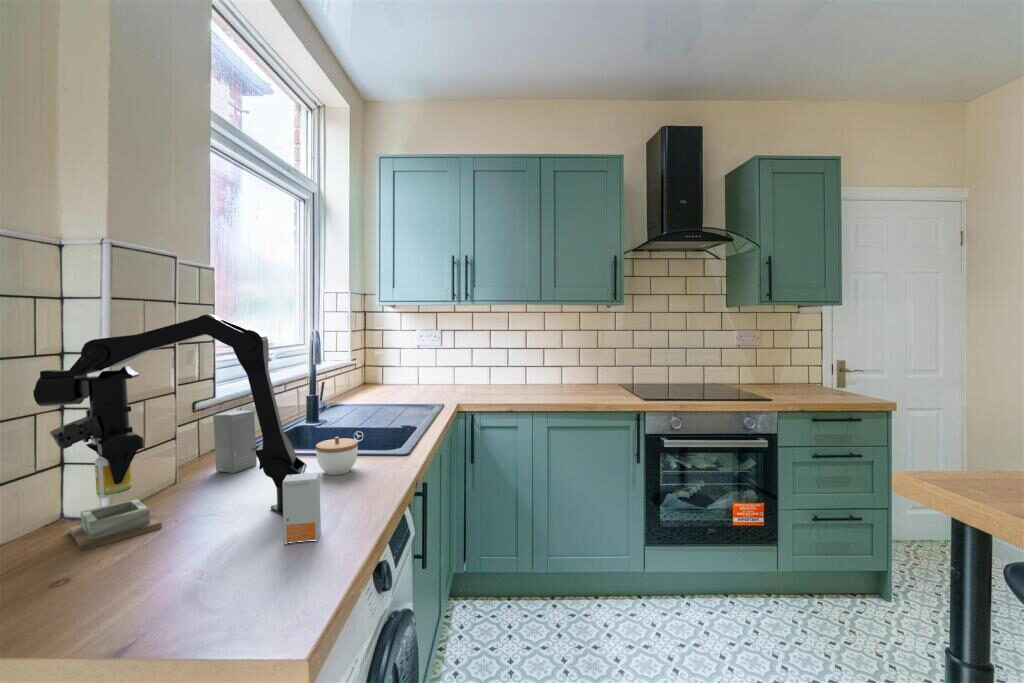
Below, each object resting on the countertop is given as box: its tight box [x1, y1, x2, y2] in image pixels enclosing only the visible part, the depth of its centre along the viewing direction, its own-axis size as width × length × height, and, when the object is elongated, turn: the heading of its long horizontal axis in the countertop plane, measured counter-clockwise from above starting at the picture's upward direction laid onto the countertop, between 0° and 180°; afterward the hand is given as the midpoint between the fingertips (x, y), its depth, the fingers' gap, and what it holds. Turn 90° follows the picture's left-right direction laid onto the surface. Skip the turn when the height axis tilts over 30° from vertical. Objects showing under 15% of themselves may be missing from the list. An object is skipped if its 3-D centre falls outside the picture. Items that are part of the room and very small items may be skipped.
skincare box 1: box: [212, 410, 258, 474], centre depth 134 cm, size 8×7×16 cm
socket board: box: [69, 498, 163, 551], centre depth 95 cm, size 12×12×4 cm
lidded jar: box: [315, 436, 359, 476], centre depth 130 cm, size 11×11×9 cm
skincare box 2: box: [282, 471, 322, 544], centre depth 91 cm, size 6×4×12 cm
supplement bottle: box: [94, 456, 133, 499], centre depth 95 cm, size 5×5×10 cm
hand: (114, 480), depth 95 cm, fingers closed on supplement bottle, 5 cm apart
